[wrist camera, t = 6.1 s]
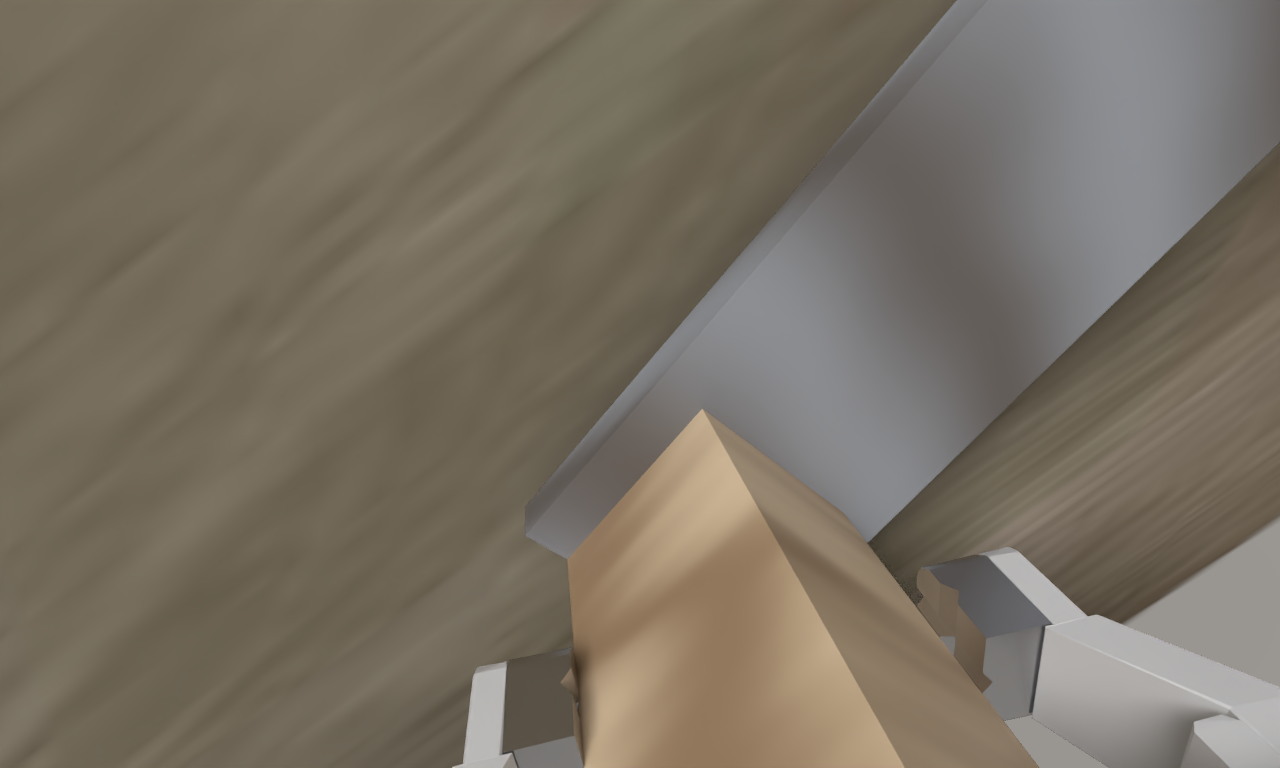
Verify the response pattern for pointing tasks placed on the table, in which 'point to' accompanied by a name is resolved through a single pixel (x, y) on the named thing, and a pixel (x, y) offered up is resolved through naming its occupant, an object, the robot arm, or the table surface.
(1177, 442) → the table surface
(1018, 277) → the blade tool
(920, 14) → the table surface
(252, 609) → the table surface
